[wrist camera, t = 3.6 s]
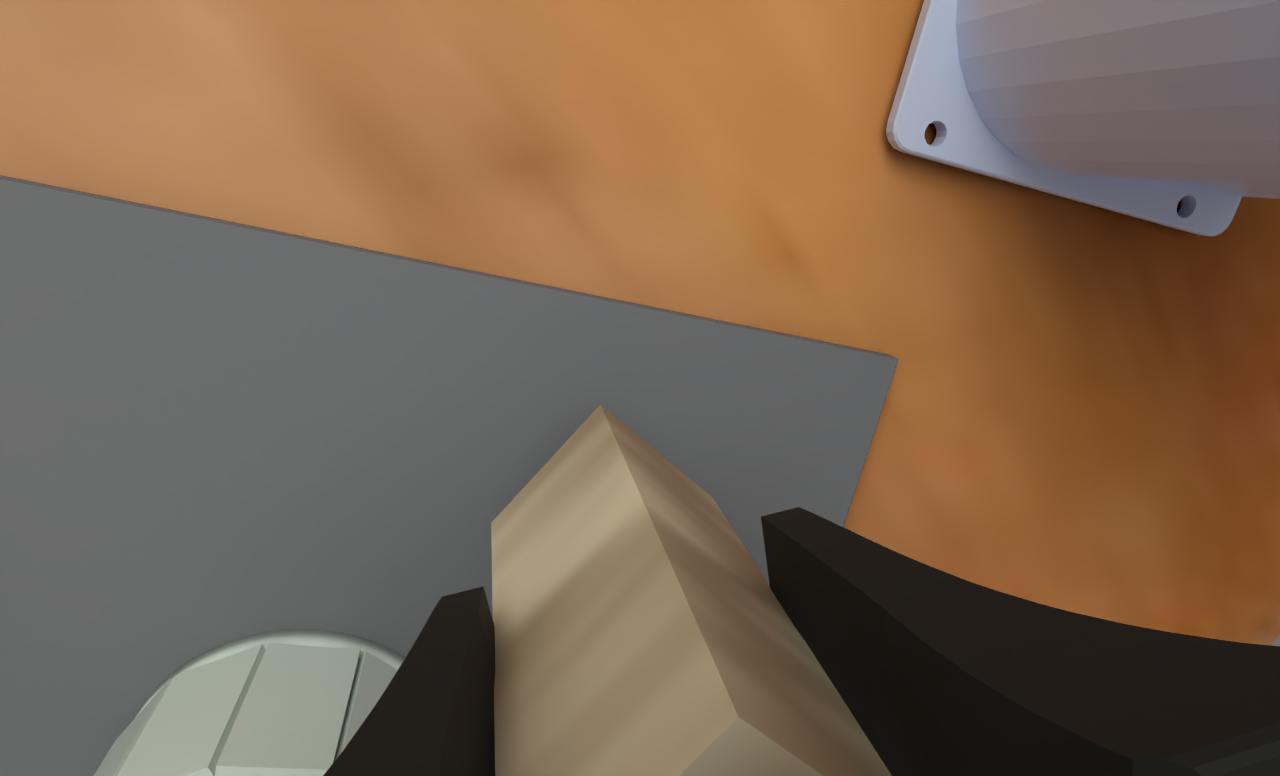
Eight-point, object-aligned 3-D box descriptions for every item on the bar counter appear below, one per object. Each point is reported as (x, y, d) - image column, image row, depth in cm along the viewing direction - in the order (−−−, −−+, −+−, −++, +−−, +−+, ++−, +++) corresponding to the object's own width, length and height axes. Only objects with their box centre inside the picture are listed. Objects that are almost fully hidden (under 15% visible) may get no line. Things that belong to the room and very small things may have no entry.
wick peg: (713, 498, 15) (1000, 945, 7) (609, 606, 15) (759, 1166, 7) (600, 404, 14) (772, 794, 6) (491, 523, 14) (499, 1061, 6)
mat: (890, 355, 18) (898, 359, 18) (713, 894, 23) (717, 907, 22) (-26, 170, 14) (-41, 170, 13) (-33, 896, 18) (-43, 911, 18)
